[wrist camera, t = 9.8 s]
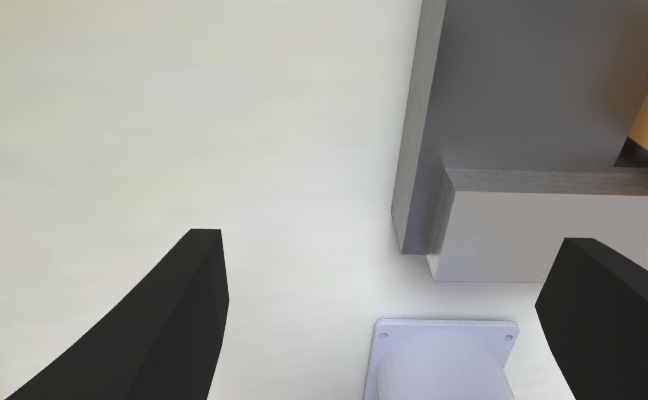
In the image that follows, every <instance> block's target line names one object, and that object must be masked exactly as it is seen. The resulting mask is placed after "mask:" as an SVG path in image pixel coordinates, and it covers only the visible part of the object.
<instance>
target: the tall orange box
mask: <svg viewBox="0 0 648 400" xmlns="http://www.w3.org/2000/svg"><path fill="white" fill-rule="evenodd" d="M628 137H629V138H631V139H632V140H634V141H635V142H637V143H638V144H639V145H641V146H642V147H644V148H645V149H646V150H648V93H647V95H646V98H645V100H644V102H643V104H642V106H641V108H640V110H639V113H638V115H637V117H636V119H635V121H634V123H633V126H632V128H631V130H630V132H629V134H628Z"/></svg>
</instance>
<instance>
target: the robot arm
mask: <svg viewBox="0 0 648 400" xmlns="http://www.w3.org/2000/svg"><path fill="white" fill-rule="evenodd" d="M228 305H229V293H228V285H227V276H226V268H225V260H224V251H223V243H222V235H221V229H190V230H189V231H188V232H187V233H186V234H185V235H184V236H183V237H182V238H181V239H180V240H179V241H178V242H177V243H176V245H175V246H174V247H173V248H172V249H171V250H170V251H169V252H168V253H167V254H166V255H165V256H164V257H163V258H162V259H161V260H160V262H159V263H158V264H157V265H156V266H155V267H154V268H153V269H152V270H151V271H150V272H149V273H148V274H147V275H146V276H145V277H144V278H143V279H142V280H141V281H140V282H139V283H138V284H137V285H136V286H135V287H134V288H133V289H132V290H131V291H130V292H129V293H128V294H127V295H126V296H125V297H124V298H123V299H122V300H121V301H120V302H119V303H118V304H117V305H116V306H115V307H114V308H113V309H112V310H111V311H109V312H108V313H107V314H106V315H105V316H104V317H103V318H102V319H101V320H100V321H98V322H97V323H96V324H95V325H94V326H93V327H92V328H91V329H90V330H89V331H88V332H86V333H85V334H84V335H83V336H82V337H81V338H80V339H79V340H78V341H76V342H75V343H74V344H73V345H72V346H71V347H70V348H68V349H67V350H66V351H65V352H64V353H62V354H61V355H60V356H59V357H58V358H57V359H55V360H54V361H53V362H52V363H51V364H49V365H48V366H47V367H46V368H44V369H43V370H42V371H41V372H39V373H38V374H37V375H36V376H34V377H33V378H32V379H31V380H29V381H28V382H27V383H26V384H24V385H23V386H22V387H21V388H19V389H18V390H17V391H15V392H14V393H13V394H12V395H10V396H9V397H8V398H6V399H5V400H207V397H208V393H209V390H210V386H211V383H212V379H213V376H214V372H215V369H216V365H217V361H218V358H219V354H220V351H221V347H222V342H223V336H224V331H225V325H226V318H227V312H228ZM535 308H536V311H537V314H538V317H539V320H540V323H541V326H542V329H543V332H544V334H545V337H546V340H547V342H548V345H549V347H550V350H551V352H552V354H553V356H554V358H555V360H556V362H557V364H558V366H559V368H560V370H561V372H562V374H563V376H564V378H565V380H566V382H567V384H568V386H569V387H570V389H571V391H572V393H573V395H574V397H575V399H576V400H648V270H646V269H644V268H643V267H641V266H640V265H638V264H637V263H635V262H633V261H632V260H630V259H629V258H627V257H625V256H624V255H622V254H620V253H619V252H617V251H615V250H614V249H612V248H610V247H609V246H607V245H605V244H603V243H602V242H600V241H598V240H596V239H594V238H571V237H565V238H564V240H563V242H562V245H561V247H560V249H559V251H558V254H557V256H556V258H555V260H554V263H553V265H552V267H551V270H550V272H549V274H548V276H547V279H546V281H545V283H544V285H543V288H542V290H541V292H540V295H539V297H538V299H537V301H536V304H535ZM518 333H519V327H518V325H517V323H515V322H513V321H482V320H424V319H381V320H379V321H377V322H376V324H375V328H374V335H373V342H372V348H371V355H370V361H369V368H368V374H367V381H366V388H365V394H364V400H515V398H514V395H513V393H512V390H511V388H510V386H509V383H508V381H507V378H506V376H505V373H504V371H503V368H504V365H505V363H506V361H507V359H508V356H509V354H510V352H511V349H512V347H513V345H514V342H515V340H516V338H517V335H518Z"/></svg>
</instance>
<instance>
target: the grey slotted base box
mask: <svg viewBox="0 0 648 400" xmlns="http://www.w3.org/2000/svg"><path fill="white" fill-rule="evenodd" d="M647 93H648V0H423V2H422V9H421V15H420V22H419V29H418V35H417V42H416V49H415V55H414V62H413V69H412V75H411V82H410V89H409V95H408V102H407V109H406V115H405V122H404V129H403V135H402V142H401V149H400V155H399V162H398V169H397V175H396V182H395V188H394V195H393V202H392V208H391V214H392V218H393V222H394V226H395V230H396V234H397V238H398V242H399V246H400V250H401V254H418V255H426V257H427V260H428V263H429V266H430V269H431V272H432V276H433V279H434V281H469V282H519V283H545V281H546V279H547V276H548V274H549V272H550V270H551V267H552V265H553V263H554V260H555V258H556V256H557V254H558V251H559V249H560V247H561V245H562V242H563V240H564V238H565V237H571V238H594V239H596V240H598V241H600V242H602V243H603V244H605V245H607V246H609V247H610V248H612V249H614V250H615V251H617V252H619V253H620V254H622V255H624V256H625V257H627V258H629V259H630V260H632V261H633V262H635V263H637V264H638V265H640V266H641V267H643V268H644V269H646V270H648V150H646V149H645V148H644V147H642V146H641V145H639V144H638V143H637V142H635V141H634V140H632V139H631V138H629V137H628V134H629V132H630V130H631V128H632V126H633V123H634V121H635V119H636V117H637V115H638V113H639V110H640V108H641V106H642V104H643V102H644V100H645V98H646V95H647Z"/></svg>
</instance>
